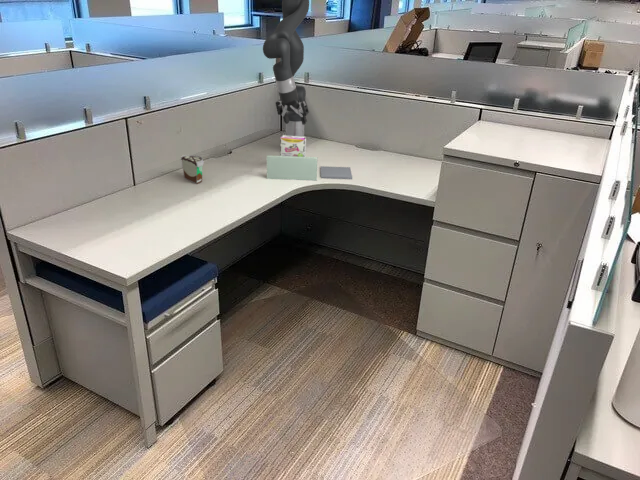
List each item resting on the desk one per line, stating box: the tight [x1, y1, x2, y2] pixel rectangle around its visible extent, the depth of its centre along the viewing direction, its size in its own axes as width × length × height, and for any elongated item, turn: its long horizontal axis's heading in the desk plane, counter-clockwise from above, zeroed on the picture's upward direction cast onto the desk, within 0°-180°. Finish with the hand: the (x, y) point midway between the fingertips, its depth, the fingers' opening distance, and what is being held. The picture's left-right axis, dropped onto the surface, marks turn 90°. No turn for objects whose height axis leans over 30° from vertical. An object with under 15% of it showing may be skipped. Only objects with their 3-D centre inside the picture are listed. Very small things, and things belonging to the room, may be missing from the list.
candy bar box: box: [279, 134, 307, 157], centre depth 228 cm, size 11×5×16 cm, turn 84°
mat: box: [320, 165, 353, 180], centre depth 232 cm, size 14×14×1 cm
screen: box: [266, 155, 319, 181], centre depth 221 cm, size 2×22×10 cm, turn 91°
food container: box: [180, 154, 205, 185], centre depth 216 cm, size 12×6×10 cm, turn 47°
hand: (295, 123), depth 217 cm, fingers open, 8 cm apart
